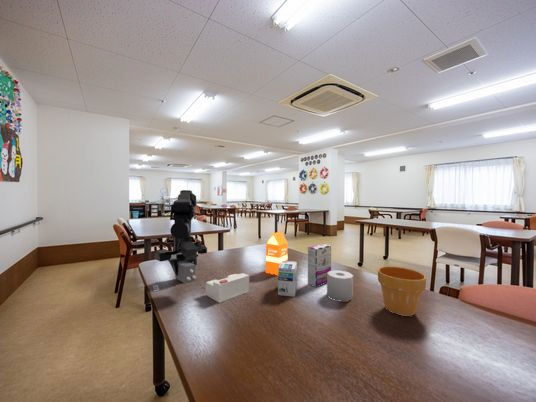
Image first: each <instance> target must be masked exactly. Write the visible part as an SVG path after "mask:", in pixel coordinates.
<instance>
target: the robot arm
mask: <svg viewBox="0 0 536 402" xmlns="http://www.w3.org/2000/svg"><path fill="white" fill-rule="evenodd" d="M196 207H197V195H195V194H194V193H193V190H191V189H182V190H180V191H179V194H178V195H177V199H176V200H174V201H173V203H172V204H171V206H170V215H169V220H170V221H173V224H172V225H171V227H170V229H169V230H170V231H169V232H170V234H171V236H172V239H173V247H172V250H168V249H159V250H156V251H155V252H154V254H153V256H154V257H153V258H154V259H155V260H156V261H158V262H165V261H168V263H169V264H170V266H171V268H172V271H173V273H174V275H176V276H178V264H177V263H178V262H180V261H185V260H186V261H188V262H190V263H192V264H195V267H196V266H197V265H198V262H197V261H198V259H197V258H198V257H199V256H200V255H203V254H207V253H208V247H207V245H203V243H202V242H201V241H195V242H193V238H192V235H191V234H192V220H193V218H195V211H196ZM199 254H200V255H199ZM175 280H177V281H178V282H179V283H183V282H181V281H180V280H178V279H176V278H175ZM183 284H184V283H183Z"/></svg>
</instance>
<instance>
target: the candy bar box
mask: <svg viewBox="0 0 536 402" xmlns="http://www.w3.org/2000/svg"><path fill="white" fill-rule="evenodd" d="M329 271H332V245H331V244H325V243H322V244H317V245H312V246H308V247H307V284H308V285H309V284H310V285H309V286H312V285H313V286H312V287H315V288H317V286H318V287H320V286H322V285H324V284H323V283H325V282H327V273H328V272H329ZM321 284H322V285H321ZM325 284H326V283H325ZM319 285H320V286H319Z"/></svg>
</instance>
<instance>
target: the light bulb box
mask: <svg viewBox="0 0 536 402" xmlns="http://www.w3.org/2000/svg"><path fill="white" fill-rule="evenodd" d="M277 279H278V280H277V296H285V297H294V298H295V296H296V294H297V293H296V292H297V287H298V262H297V261H289V260H287V261H282V262H281V264H280V266H279V268H278V275H277Z"/></svg>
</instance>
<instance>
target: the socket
mask: <svg viewBox="0 0 536 402" xmlns="http://www.w3.org/2000/svg"><path fill="white" fill-rule="evenodd" d="M249 292H250V274H249V275H248V274H247V273H243V272H242V273H238V274H237V273H233V274H230V275H227V276H226V277H224V278H222V279H211V280H209V281H206V282H205V296H207V297H209V298H210V299H212V300H214V301H215V302H217V303H218V304H219V303H222V302H226V301H228V300H230V299H233V298H236V297H238V296H241V295H243V294H246V293H249Z"/></svg>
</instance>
